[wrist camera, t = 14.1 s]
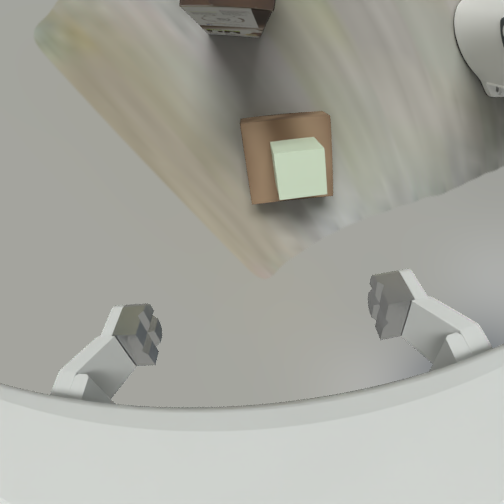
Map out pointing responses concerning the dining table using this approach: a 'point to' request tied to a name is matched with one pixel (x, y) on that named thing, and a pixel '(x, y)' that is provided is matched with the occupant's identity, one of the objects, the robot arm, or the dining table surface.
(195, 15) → the coffee box
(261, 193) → the walnut block
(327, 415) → the robot arm
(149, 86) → the dining table surface
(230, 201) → the dining table surface
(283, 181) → the sage cube
